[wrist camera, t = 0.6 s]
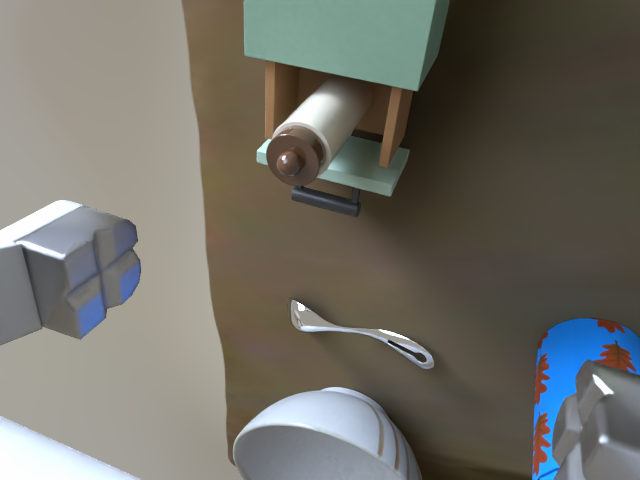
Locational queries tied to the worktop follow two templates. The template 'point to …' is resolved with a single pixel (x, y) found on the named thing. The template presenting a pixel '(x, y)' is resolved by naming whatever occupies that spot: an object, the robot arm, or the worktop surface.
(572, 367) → the thermos
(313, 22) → the cabinet
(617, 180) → the worktop surface
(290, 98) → the drawer
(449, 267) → the worktop surface
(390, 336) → the silver spoon
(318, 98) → the canister with knobbed lid
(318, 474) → the decorative bowl
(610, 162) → the worktop surface
